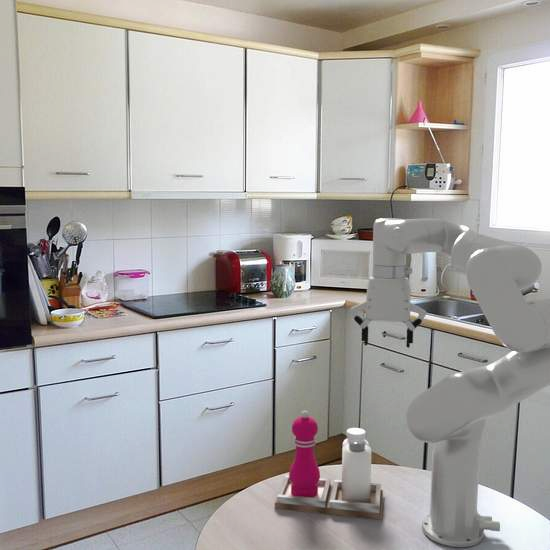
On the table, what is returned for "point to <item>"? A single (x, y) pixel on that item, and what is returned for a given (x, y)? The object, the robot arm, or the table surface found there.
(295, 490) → the pepper mill
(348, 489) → the salt shaker
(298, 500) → the rail
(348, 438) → the supplement bottle
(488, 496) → the table surface
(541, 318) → the robot arm
